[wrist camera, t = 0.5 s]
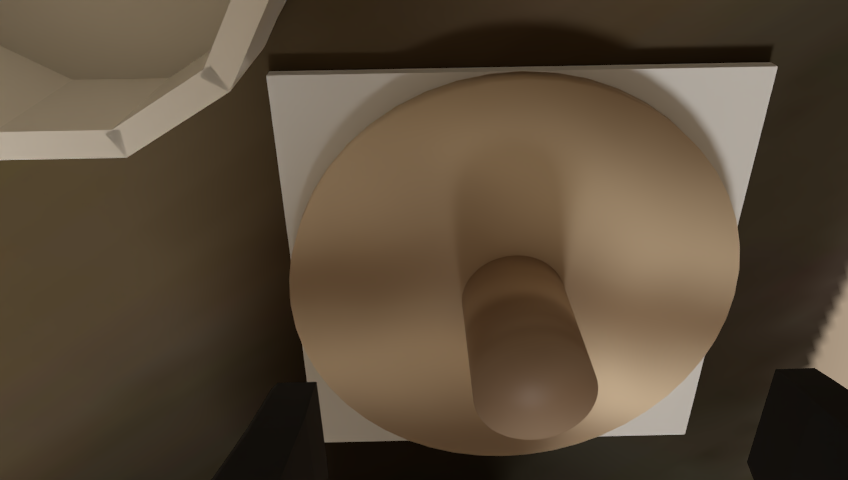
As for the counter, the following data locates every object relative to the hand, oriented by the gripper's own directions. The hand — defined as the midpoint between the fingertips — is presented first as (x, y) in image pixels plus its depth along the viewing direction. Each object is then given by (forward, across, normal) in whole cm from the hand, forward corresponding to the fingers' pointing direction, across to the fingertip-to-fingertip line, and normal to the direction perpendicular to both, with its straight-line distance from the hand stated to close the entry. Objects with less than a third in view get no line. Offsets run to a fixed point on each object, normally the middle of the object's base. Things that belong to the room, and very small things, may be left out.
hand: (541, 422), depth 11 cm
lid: (+9, -1, +3) cm, 10 cm away
